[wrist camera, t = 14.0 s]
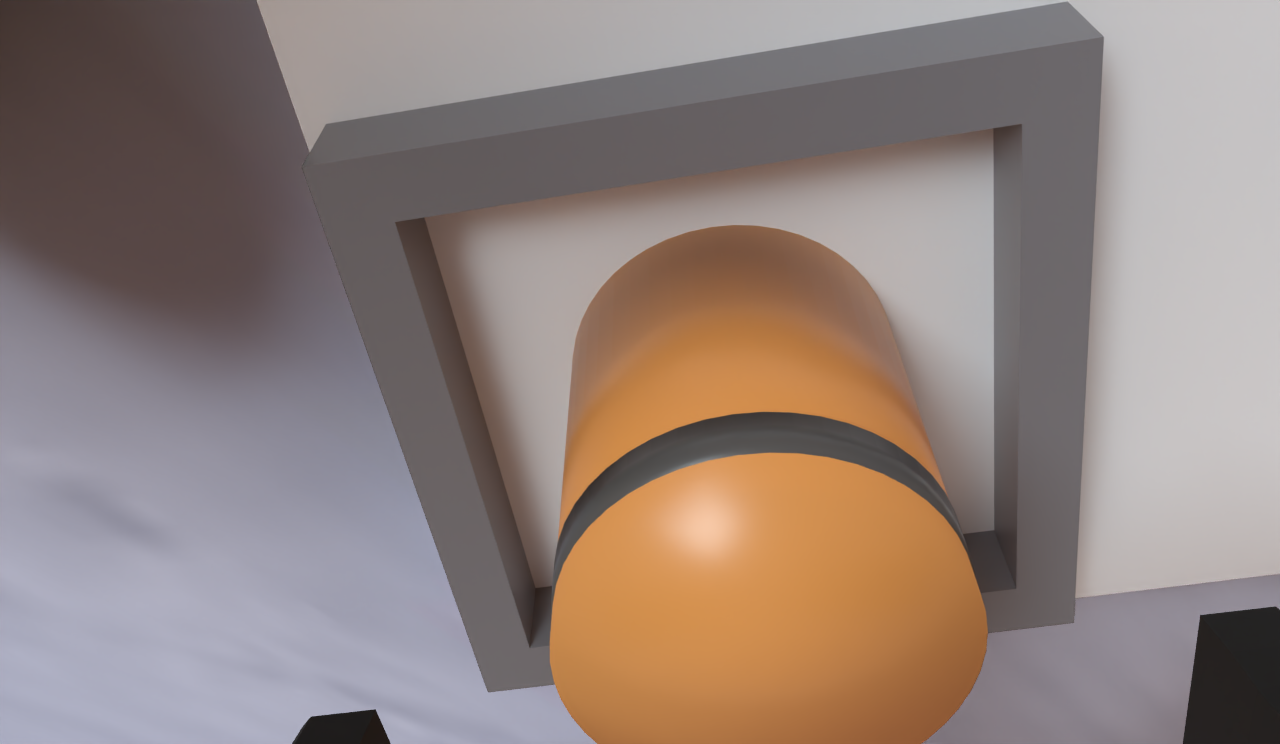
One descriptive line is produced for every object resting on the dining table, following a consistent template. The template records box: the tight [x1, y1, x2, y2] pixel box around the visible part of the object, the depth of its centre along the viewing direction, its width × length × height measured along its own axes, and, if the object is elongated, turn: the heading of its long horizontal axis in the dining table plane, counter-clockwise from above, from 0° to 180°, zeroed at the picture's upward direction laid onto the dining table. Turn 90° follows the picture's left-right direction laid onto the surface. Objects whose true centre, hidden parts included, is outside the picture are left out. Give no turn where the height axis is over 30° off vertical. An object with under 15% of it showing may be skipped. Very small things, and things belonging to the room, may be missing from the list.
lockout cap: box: [550, 225, 988, 744], centre depth 13 cm, size 4×4×5 cm
